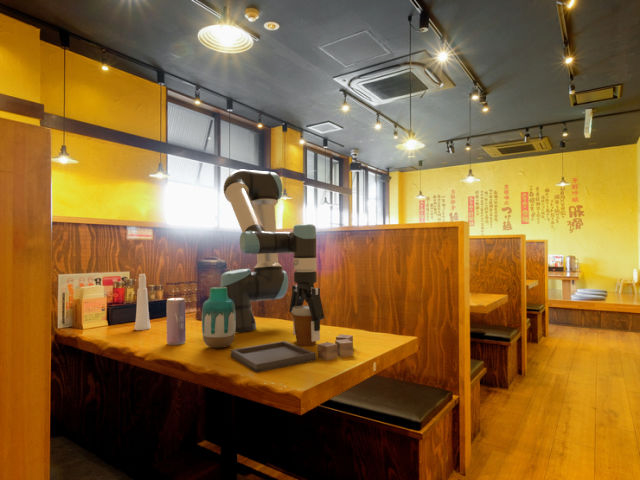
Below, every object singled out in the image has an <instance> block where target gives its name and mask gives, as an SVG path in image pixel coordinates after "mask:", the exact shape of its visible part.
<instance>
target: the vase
mask: <svg viewBox="0 0 640 480" xmlns="http://www.w3.org/2000/svg"><path fill="white" fill-rule="evenodd" d="M201 309H202V310H201V311H202V312H201V332H202V333H201V334H202V340H203V342H204V345H206V346H207V347H209V348H214V349H220V348H225V347H228V346H230V345H231V344H232V343H233V341H235V337H236V333H235V329H236V313H235V305H234V302H233V301H232V300H231V299H229V298H228V293H227V287H221V286H216V287H215V286H214V287H210V289H209V297H208V299H207V300H205V301H204V302H203V303H202V308H201Z"/></svg>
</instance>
